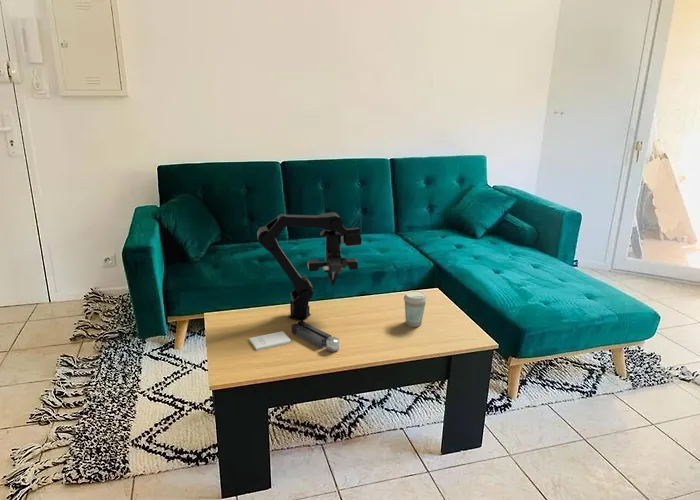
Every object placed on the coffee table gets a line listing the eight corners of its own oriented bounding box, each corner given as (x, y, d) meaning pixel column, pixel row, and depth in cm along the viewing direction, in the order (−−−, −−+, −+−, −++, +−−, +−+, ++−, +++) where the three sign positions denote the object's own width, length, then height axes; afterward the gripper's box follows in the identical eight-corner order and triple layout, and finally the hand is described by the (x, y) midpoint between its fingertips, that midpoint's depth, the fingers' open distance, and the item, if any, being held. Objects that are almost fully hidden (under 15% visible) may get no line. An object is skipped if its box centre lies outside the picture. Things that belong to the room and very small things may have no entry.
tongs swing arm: (342, 348, 180) (342, 339, 179) (332, 352, 176) (332, 344, 175) (301, 327, 193) (301, 319, 192) (291, 331, 190) (291, 323, 189)
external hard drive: (291, 344, 183) (256, 352, 178) (282, 334, 190) (249, 341, 185) (290, 340, 183) (256, 347, 177) (282, 330, 190) (248, 337, 184)
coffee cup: (399, 326, 198) (401, 296, 194) (405, 317, 205) (407, 288, 201) (421, 330, 195) (423, 300, 191) (427, 321, 202) (429, 292, 198)
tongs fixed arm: (325, 346, 181) (325, 338, 180) (321, 348, 180) (321, 340, 179) (295, 330, 192) (295, 322, 191) (291, 332, 191) (291, 324, 190)
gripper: (310, 254, 188) (310, 294, 193) (361, 252, 192) (360, 292, 196) (307, 244, 199) (307, 283, 204) (356, 243, 202) (355, 281, 207)
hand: (332, 285), depth 202 cm, fingers closed
